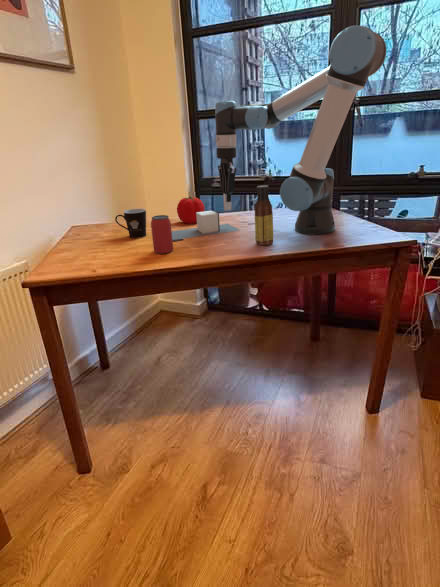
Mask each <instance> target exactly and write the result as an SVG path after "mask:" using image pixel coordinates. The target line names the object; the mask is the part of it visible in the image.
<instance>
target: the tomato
mask: <svg viewBox="0 0 440 587" xmlns="http://www.w3.org/2000/svg"><path fill="white" fill-rule="evenodd" d="M204 211H206V210H205V204H204V202H203V201H202V200H201V199H199V198H198V197H196V196H195V197H194V196H189V197H182V198H181V199H180V200H179V201H178V204H177V207H176V213H177V216H178V219H179V220H180V221H181V222H182V223H184V224H188V225H193V224H197V216H196V212H204Z"/></svg>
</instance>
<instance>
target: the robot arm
mask: <svg viewBox="0 0 440 587" xmlns="http://www.w3.org/2000/svg"><path fill="white" fill-rule="evenodd" d="M386 56H387V43H386V41H385V40H384V38H383V36H381V34H379V33H378V32H375V31H373V30H372V29H371V28H370V27H367V26H365V25H358V24H357V25H356V24H355V25H350V26H348V27H346V28H344V29H343V30H341V31H340V32H339V33H338V34H337V35H336V36H335V38H334V39H333V41H332V43H331V45H330V48H329V54H328V59H329V60H328V61H329V66H328V67H326V68H325V69H322V71H321V70H320V71H319V72H318V73H316V74H315V75H313V76H312V77H310V78H308V79H306V80H305V81H303V82H302V83H300V84H299V85H297V86H295V87H293V88H292V89H290V90H289V91H287V92H285V93H284V94H282V95H281V96H279V97H277V98H276V99H274V100H273V101H271V102H269V103H268V104H266V105H257V104H255V105H247V106H237V105H236V102H235V101H234V100H227V101H224V100H222V101H217V102H216V103H215V104H214V106H215V107H214V108H215V110H214V111H215V114H214V117H215V118H214V119H215V120H214V121H215V138H214V140H215V141H216V144H215V145H216V147H217V148H216V149H215V150H216V159H219V160H220V161H219V162H220V164H219V165H217V168H218V175H219V176H218V177H219V184H220V191H222V193H223V211H231V210H232V194H233V193H235V180H236V172H237V167H234V161H233V159H236V158H237V148H236V146H237V131H239V130H247V131H248V130H252V131H256V130H257V131H258V130H262V129H269V130H271V129H273V128H276V127H278V125H280V123H281V122H282V121H284V120H286V119H287V118H289V117H291V116H293V115H295V114H296V113H298V112H300V111H302V110H303V109H306V108H307V107H310V106H311V105H313V104H314V103H316V102H318V101H320V100H321V99H322V101H321V104H320V107H319V110H318V112H317V115H316V117H315V120H314V123H313V125H312V128H311V130H310V133H309V136H308V139H307V142H306V145H305V147H304V149H303V152H302V155H301V158H300V160H299V162H297V163H295V164H293V167H292V169H291V172H290V174H289V177H287V178H286V179H285V180H284V181H283V182H282V184H281V186H280V187H279V188H280V190H279V196H280V199H281V202H282V204H283V205H284V206H285V207H286V208H287V209H288V210H290V211H293V212H299V213H298V214H297V216H296V217H297V218H296V221H295V224H294V231H296V232H298V233H300V234H304V235H305V234H306V235H323V234H324V235H325V234H330V233H333V232H334V231H335V229H336V224H335V218H334V215H333V211H332V210H333V209H332V206H333V205H332V204H333V193H334V182H335V181H334V180H335V171H334V169H333V168H326V167H327V164H328V162H329V160H330V158H331V155H332V152H333V150H334V147H335V145H336V143H337V140H338V138H339V135H340V133H341V130H342V128H343V126H344V123H345V121H346V119H347V117H348V116H347V115H348V113H349V111H350V108H351V106H352V104H353V101H354V99H355V97H356V94H357V93H358V92H359V91H361V90H362V89H364V88H365V86H366V84H367V82H368V79H369V77H371V76H373V75H375V73H377V72H378V71H379V70H380V69H381V67H382V66H383V64H384V62H385V60H386Z"/></svg>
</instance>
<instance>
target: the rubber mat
mask: <svg viewBox="0 0 440 587" xmlns="http://www.w3.org/2000/svg"><path fill="white" fill-rule="evenodd" d="M171 231H172V241H173V243H174V242H179V241H184V239H191V238H197V237H198V238H199V237H205V236H210V235H219V234H225V233H231V232H239V231H240V228H237V227H235V226H233V225H231V224H229V223H224V224H220V231H217V232H210V233H202V232H200V231H199V230H197V227H194V228H187V229H180V230H179V229H178V230H171Z"/></svg>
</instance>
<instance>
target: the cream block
mask: <svg viewBox="0 0 440 587" xmlns="http://www.w3.org/2000/svg"><path fill="white" fill-rule="evenodd" d="M196 216H197V223H196V225H197V226H196V228H197V230H199V231H200V232H202V233H210V232H217V231H220V225H221V224H220V213H218V212H216V211H215V210H204V212H196Z"/></svg>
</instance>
